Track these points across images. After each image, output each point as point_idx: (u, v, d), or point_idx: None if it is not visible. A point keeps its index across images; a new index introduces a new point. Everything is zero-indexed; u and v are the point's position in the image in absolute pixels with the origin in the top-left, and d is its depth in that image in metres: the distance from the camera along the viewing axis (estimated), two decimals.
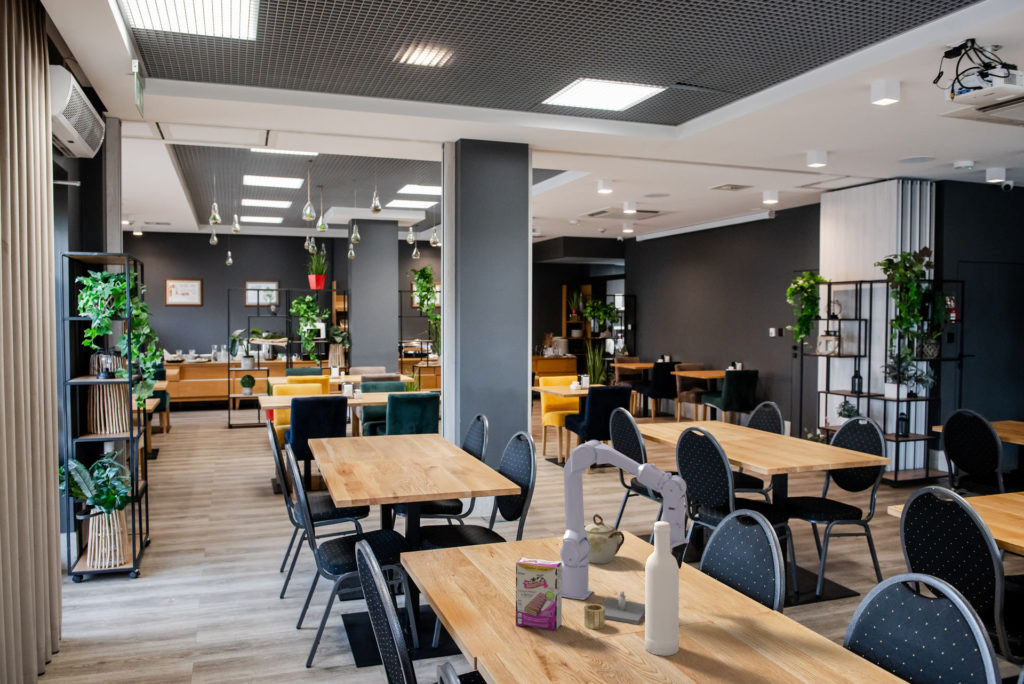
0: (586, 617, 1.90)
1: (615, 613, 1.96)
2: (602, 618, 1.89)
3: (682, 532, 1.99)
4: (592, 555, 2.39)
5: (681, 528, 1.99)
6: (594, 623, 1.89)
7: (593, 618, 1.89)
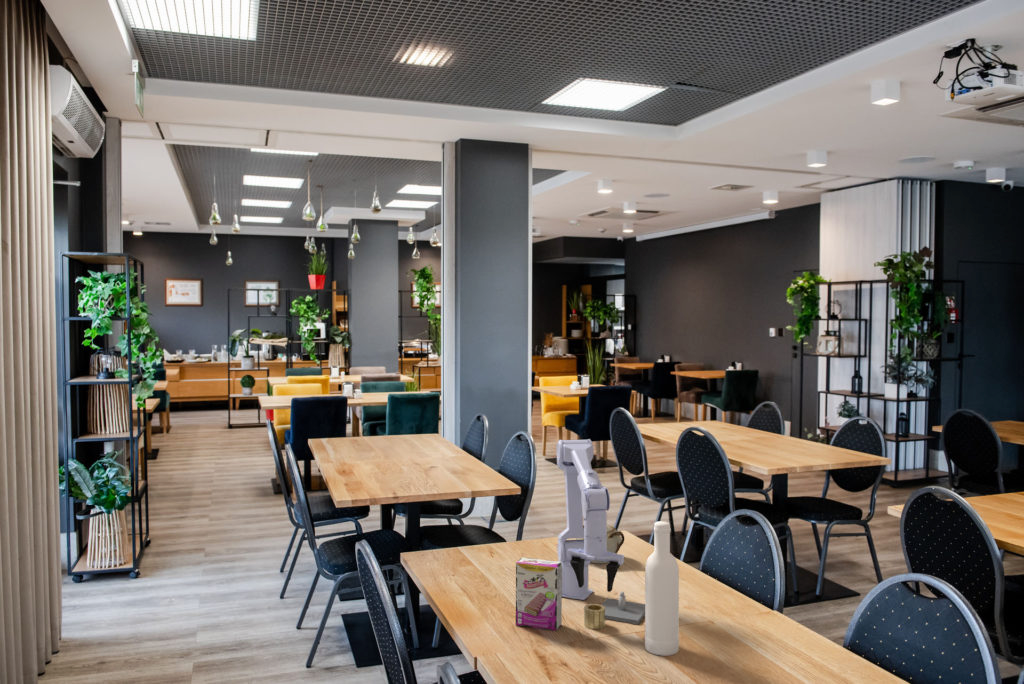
0: (586, 617, 1.90)
1: (615, 613, 1.96)
2: (602, 618, 1.89)
3: (588, 546, 1.89)
4: None
5: (587, 541, 1.89)
6: (594, 623, 1.89)
7: (593, 618, 1.89)
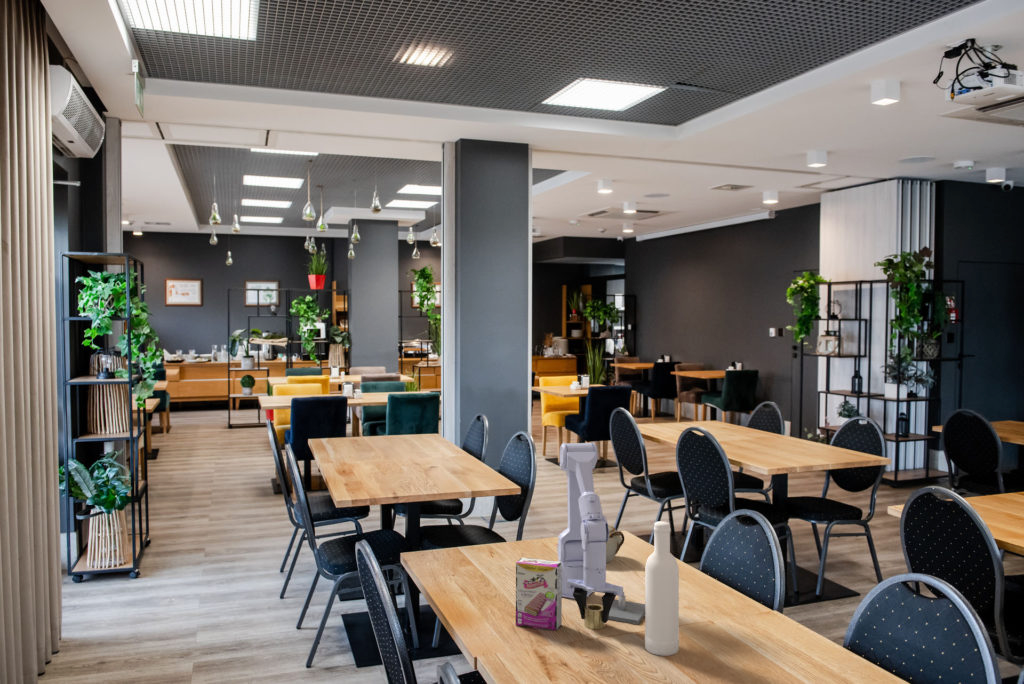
0: (586, 617, 1.90)
1: (615, 613, 1.96)
2: (602, 618, 1.89)
3: (587, 577, 1.89)
4: None
5: (586, 572, 1.89)
6: (594, 623, 1.89)
7: (593, 618, 1.89)
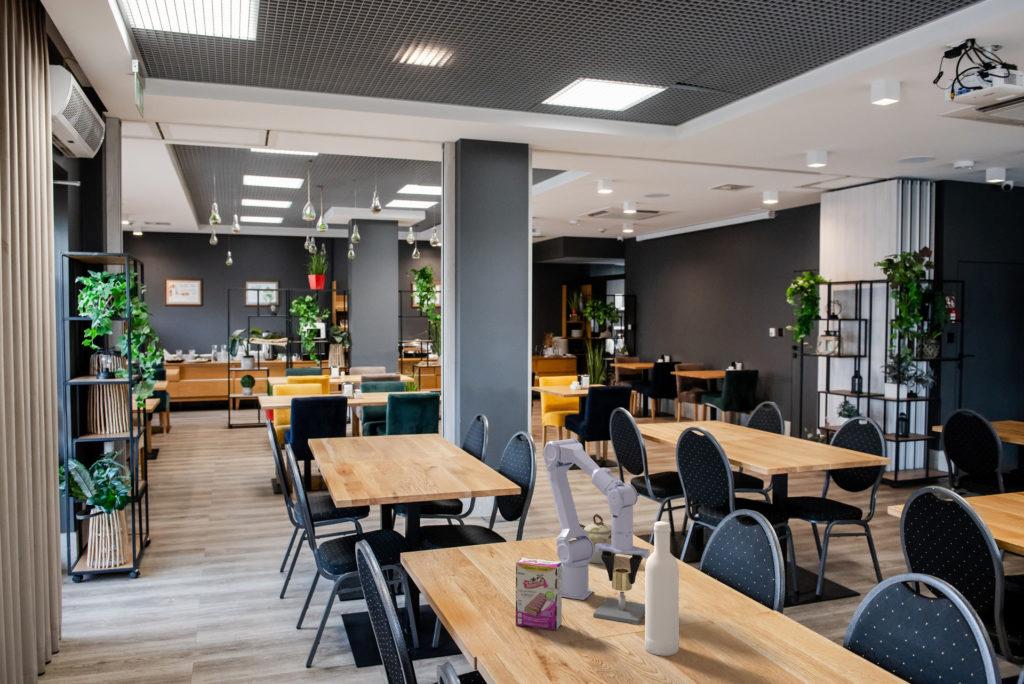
0: (614, 579, 1.98)
1: (615, 613, 1.96)
2: (629, 580, 1.97)
3: (615, 541, 1.97)
4: None
5: (614, 536, 1.97)
6: (622, 585, 1.97)
7: (621, 580, 1.97)
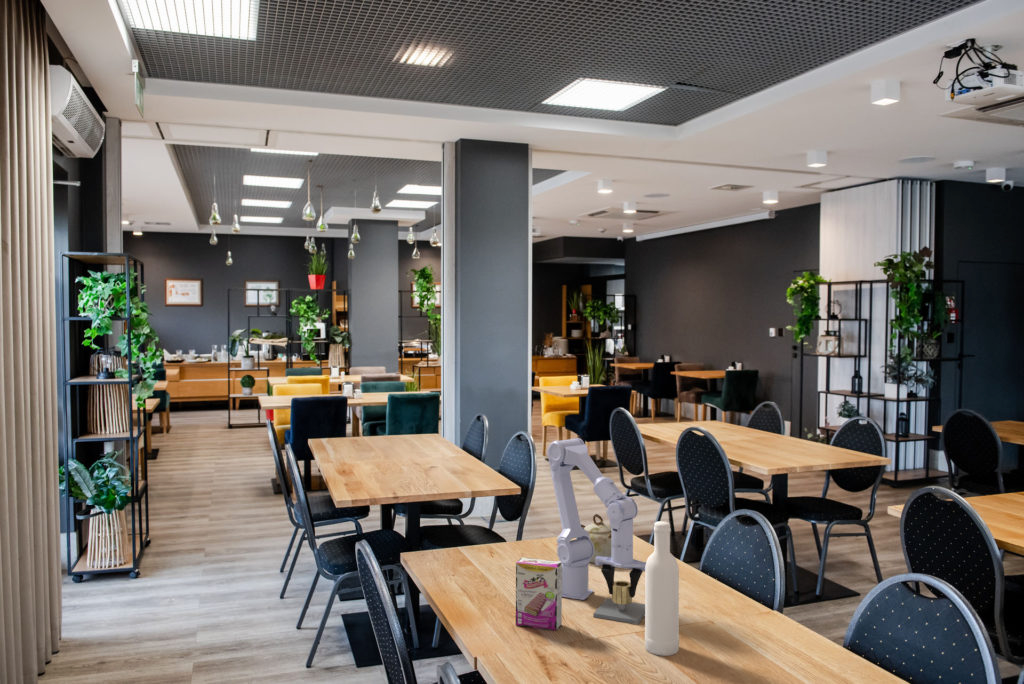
0: (614, 593, 1.98)
1: (615, 613, 1.96)
2: (629, 594, 1.97)
3: (615, 554, 1.97)
4: None
5: (614, 549, 1.98)
6: (622, 598, 1.97)
7: (621, 594, 1.97)
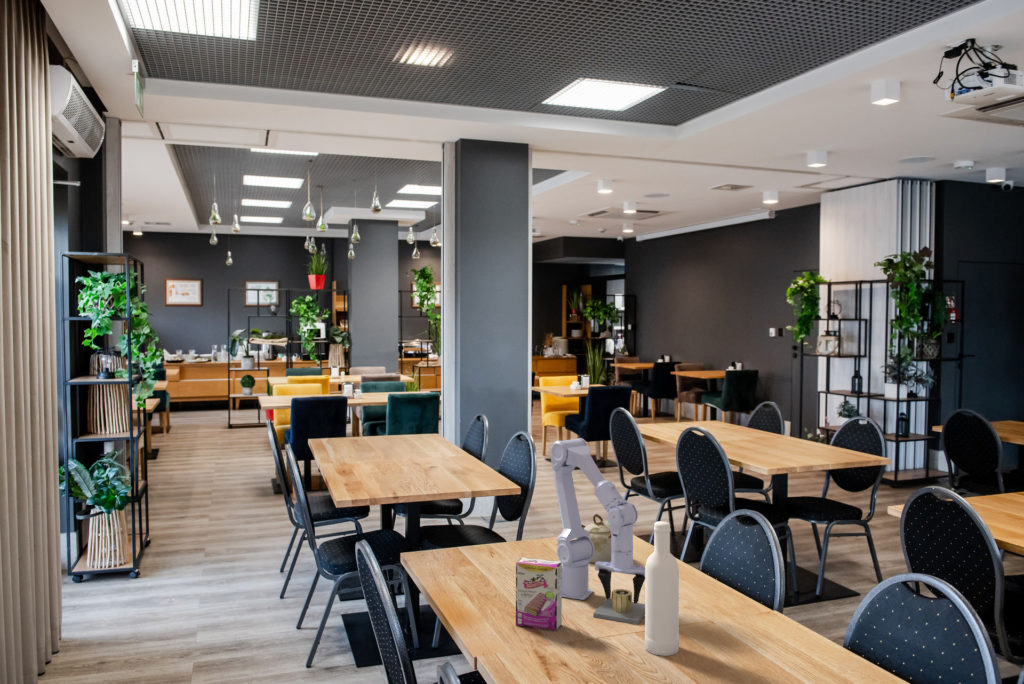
0: (614, 601, 1.98)
1: (615, 613, 1.96)
2: (629, 602, 1.97)
3: (615, 559, 1.97)
4: None
5: (614, 555, 1.98)
6: (622, 607, 1.97)
7: (621, 602, 1.97)
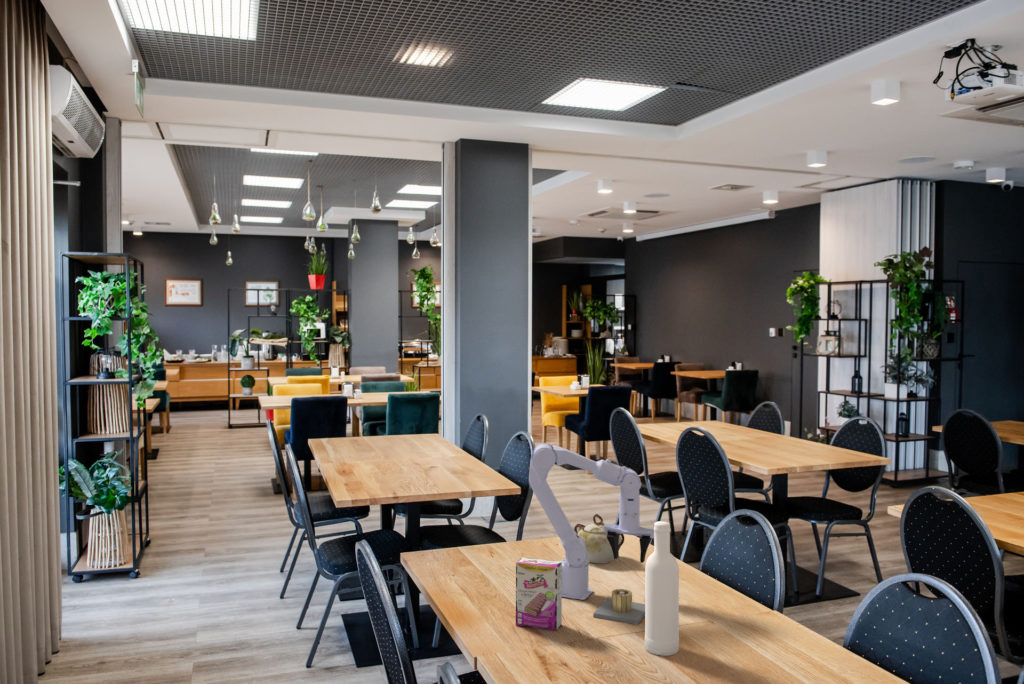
0: (614, 601, 1.98)
1: (615, 613, 1.96)
2: (629, 602, 1.97)
3: (622, 522, 2.11)
4: (592, 555, 2.39)
5: (622, 517, 2.11)
6: (622, 607, 1.97)
7: (621, 602, 1.97)
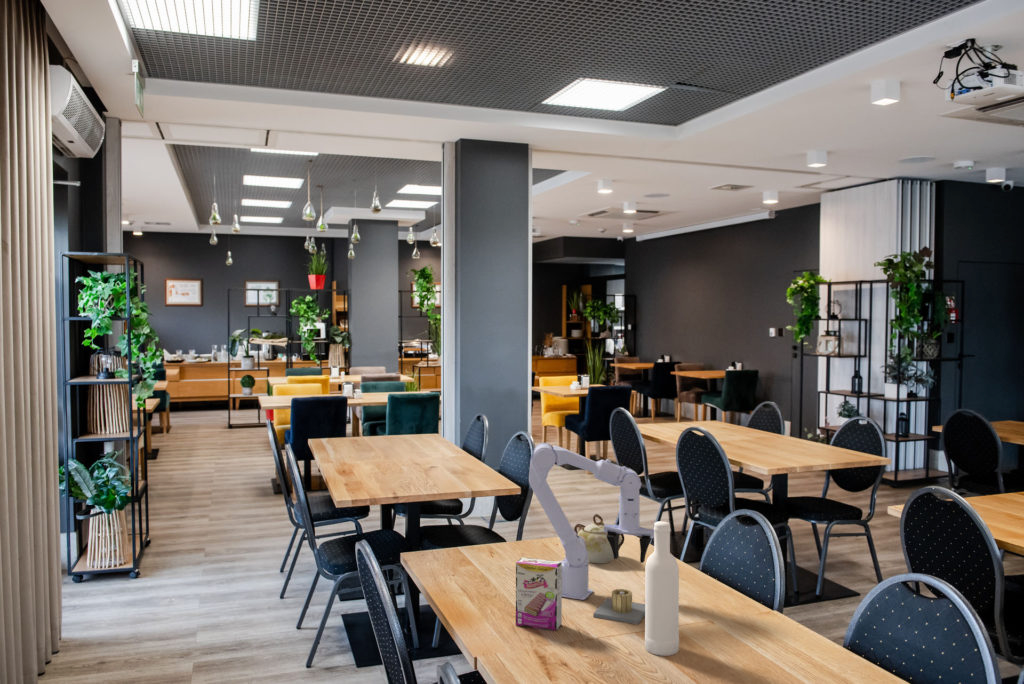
0: (614, 601, 1.98)
1: (615, 613, 1.96)
2: (629, 602, 1.97)
3: (622, 522, 2.11)
4: (592, 555, 2.39)
5: (622, 517, 2.11)
6: (622, 607, 1.97)
7: (621, 602, 1.97)
